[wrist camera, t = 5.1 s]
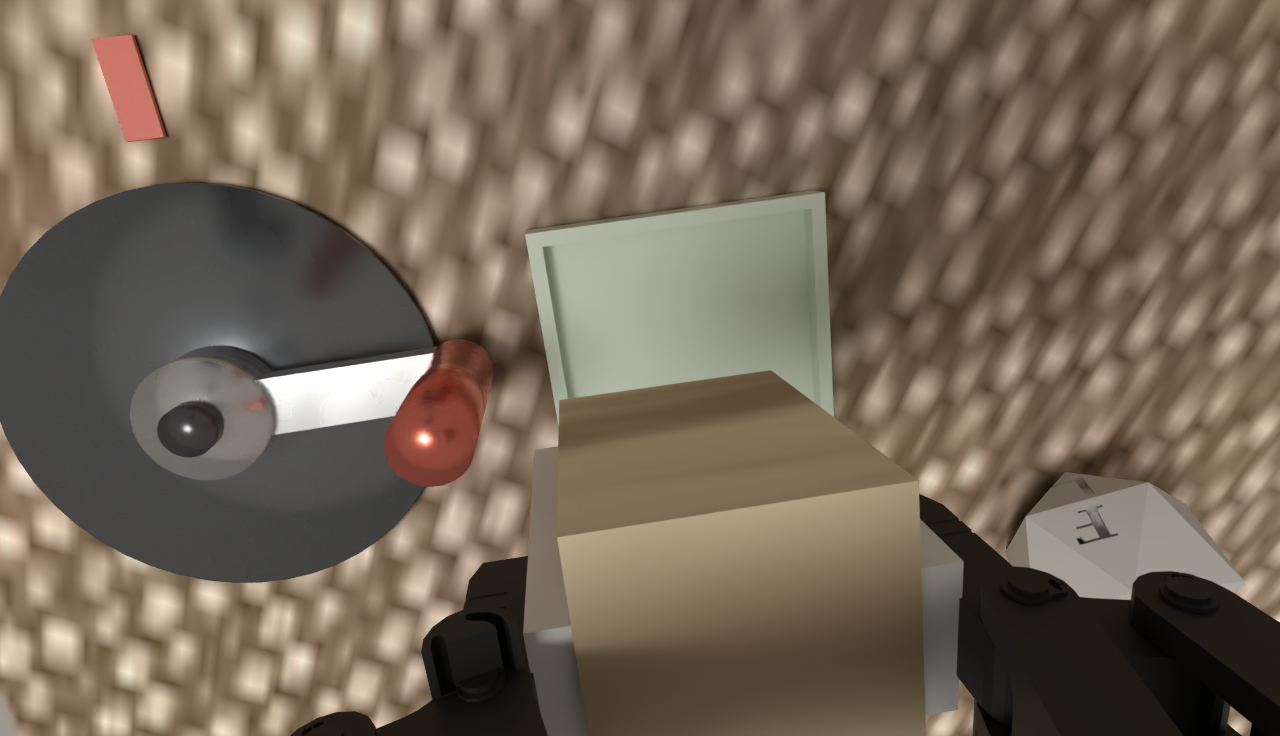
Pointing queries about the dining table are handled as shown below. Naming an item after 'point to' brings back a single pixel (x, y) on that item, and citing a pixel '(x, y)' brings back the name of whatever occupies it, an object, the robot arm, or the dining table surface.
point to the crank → (325, 406)
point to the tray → (687, 297)
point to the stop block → (737, 565)
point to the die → (1115, 537)
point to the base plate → (173, 310)
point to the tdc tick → (129, 87)
